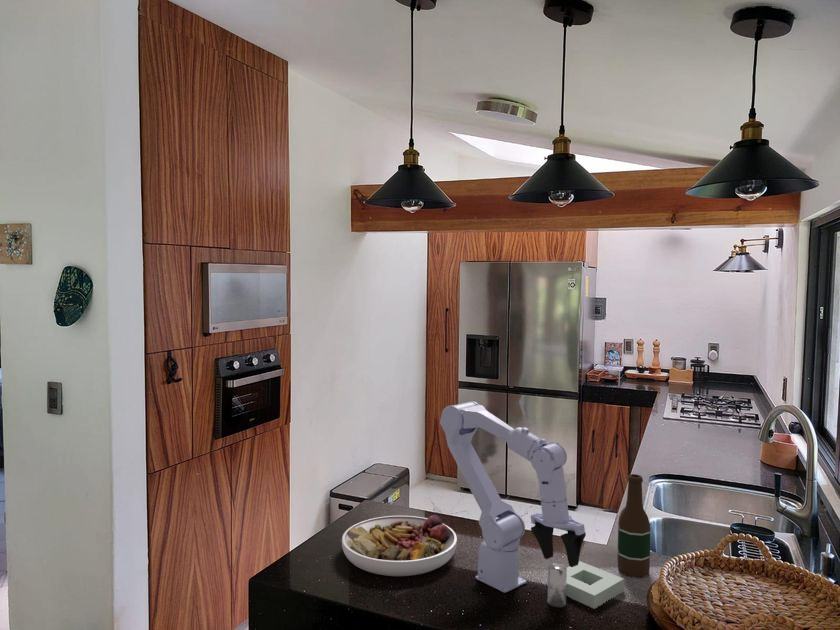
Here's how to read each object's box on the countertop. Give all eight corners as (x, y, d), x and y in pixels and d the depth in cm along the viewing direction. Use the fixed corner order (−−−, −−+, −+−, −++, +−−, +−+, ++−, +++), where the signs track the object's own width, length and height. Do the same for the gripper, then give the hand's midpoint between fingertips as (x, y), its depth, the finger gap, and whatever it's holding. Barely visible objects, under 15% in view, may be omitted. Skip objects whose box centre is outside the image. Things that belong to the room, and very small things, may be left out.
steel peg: (543, 602, 136) (544, 566, 136) (554, 596, 139) (555, 561, 139) (558, 609, 133) (559, 573, 133) (569, 603, 136) (570, 567, 136)
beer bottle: (653, 569, 153) (655, 474, 152) (645, 581, 146) (647, 482, 145) (621, 561, 157) (623, 469, 156) (612, 573, 151) (614, 476, 150)
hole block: (549, 588, 143) (549, 575, 142) (579, 573, 150) (579, 561, 150) (594, 608, 134) (594, 595, 133) (623, 591, 141) (624, 578, 141)
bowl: (389, 595, 140) (389, 561, 139) (319, 551, 162) (319, 522, 162) (480, 558, 159) (480, 528, 159) (407, 524, 182) (407, 498, 181)
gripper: (591, 500, 132) (599, 564, 131) (543, 491, 144) (550, 549, 143) (568, 507, 128) (576, 573, 127) (521, 497, 140) (528, 557, 139)
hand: (561, 561), depth 135 cm, fingers open, 7 cm apart
